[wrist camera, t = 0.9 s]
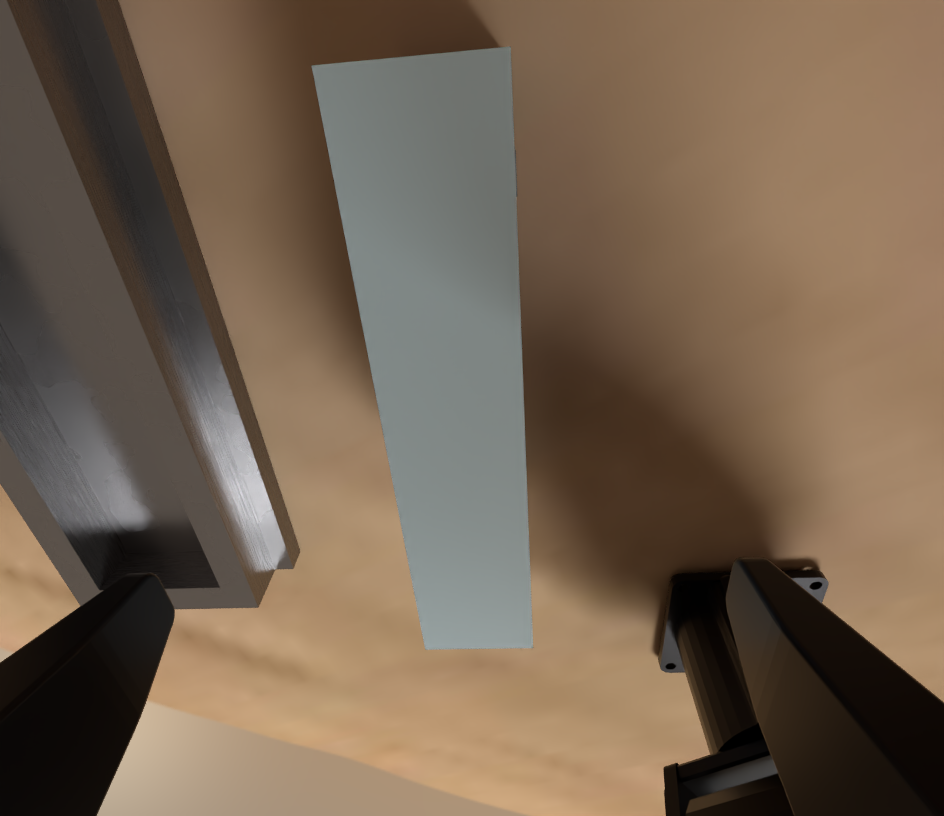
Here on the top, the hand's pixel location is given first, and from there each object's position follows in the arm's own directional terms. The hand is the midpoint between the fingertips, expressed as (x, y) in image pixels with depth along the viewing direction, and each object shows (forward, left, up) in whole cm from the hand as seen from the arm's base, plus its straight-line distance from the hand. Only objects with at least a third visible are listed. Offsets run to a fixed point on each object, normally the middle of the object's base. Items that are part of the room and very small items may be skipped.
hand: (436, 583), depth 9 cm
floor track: (0, +13, -12) cm, 17 cm away
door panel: (0, 0, -12) cm, 12 cm away
